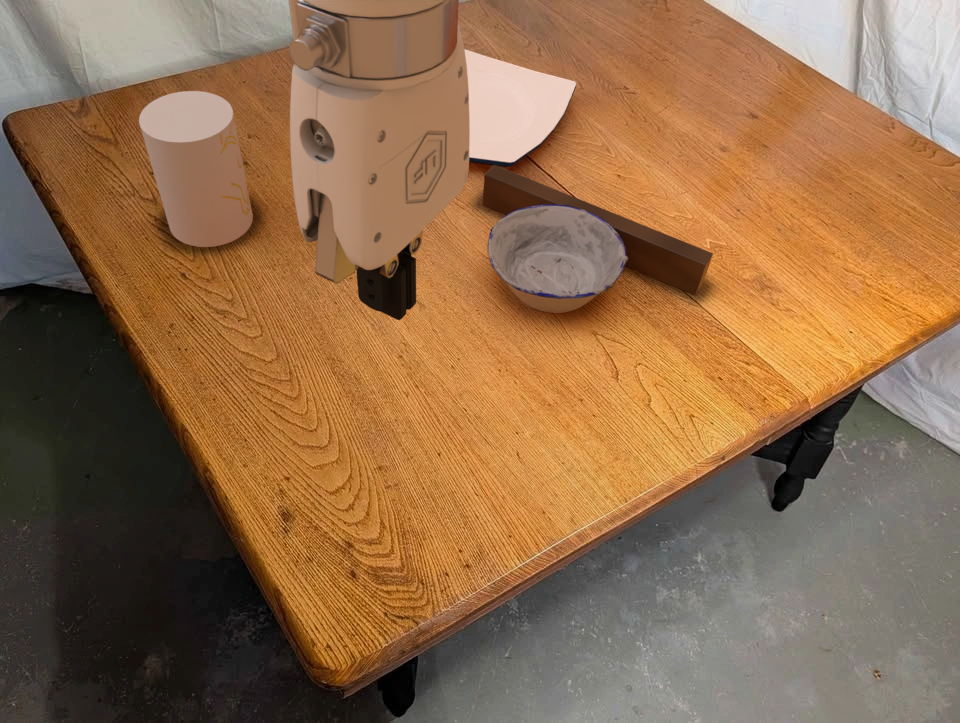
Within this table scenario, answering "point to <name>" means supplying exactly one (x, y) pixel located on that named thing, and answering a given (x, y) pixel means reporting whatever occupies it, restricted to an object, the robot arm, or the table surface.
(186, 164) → the pink tall cylinder
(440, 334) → the table surface
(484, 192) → the rail
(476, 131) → the plate
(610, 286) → the bowl
